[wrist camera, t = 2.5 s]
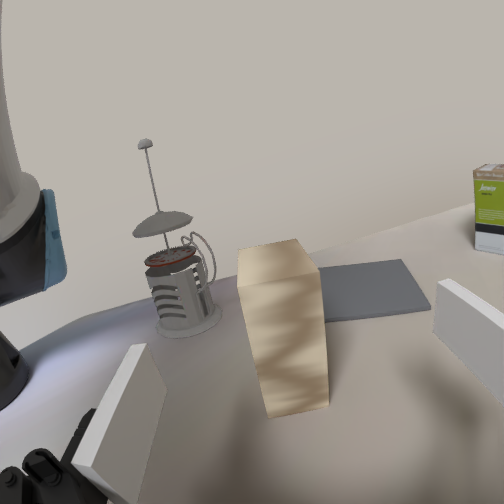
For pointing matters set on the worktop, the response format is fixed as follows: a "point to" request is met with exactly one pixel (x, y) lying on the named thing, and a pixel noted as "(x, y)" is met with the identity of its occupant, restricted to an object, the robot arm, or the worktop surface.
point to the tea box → (489, 208)
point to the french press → (177, 275)
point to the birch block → (285, 326)
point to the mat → (370, 291)
